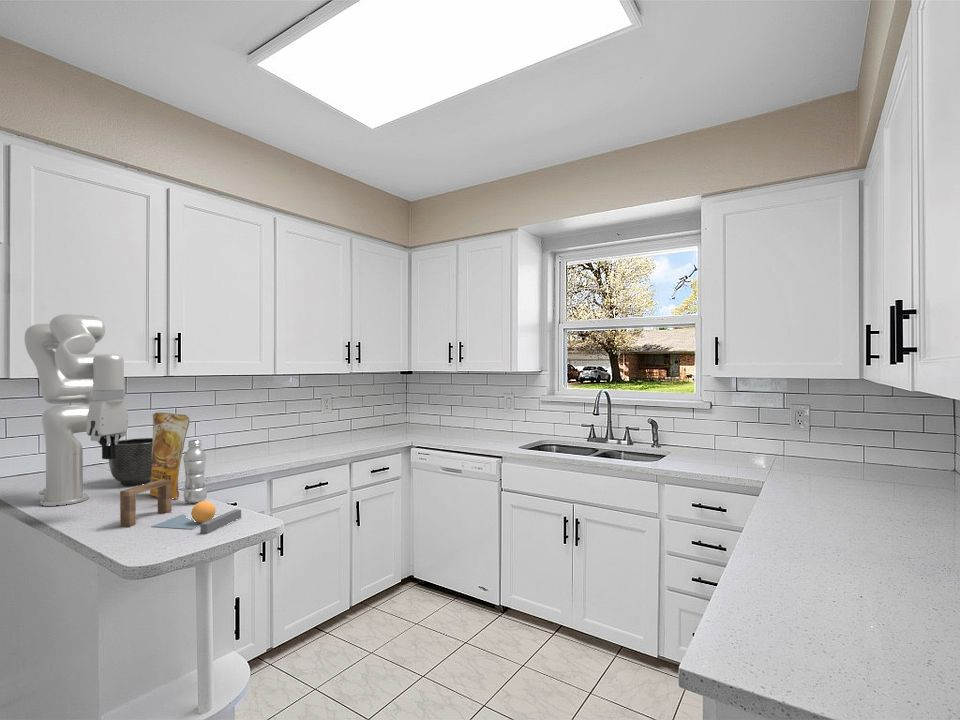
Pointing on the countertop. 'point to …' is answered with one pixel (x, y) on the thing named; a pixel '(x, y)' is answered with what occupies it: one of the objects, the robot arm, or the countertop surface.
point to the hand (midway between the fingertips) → (109, 458)
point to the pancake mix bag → (168, 448)
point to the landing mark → (178, 523)
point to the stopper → (219, 521)
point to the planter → (132, 462)
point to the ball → (203, 511)
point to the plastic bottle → (194, 473)
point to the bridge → (130, 500)
